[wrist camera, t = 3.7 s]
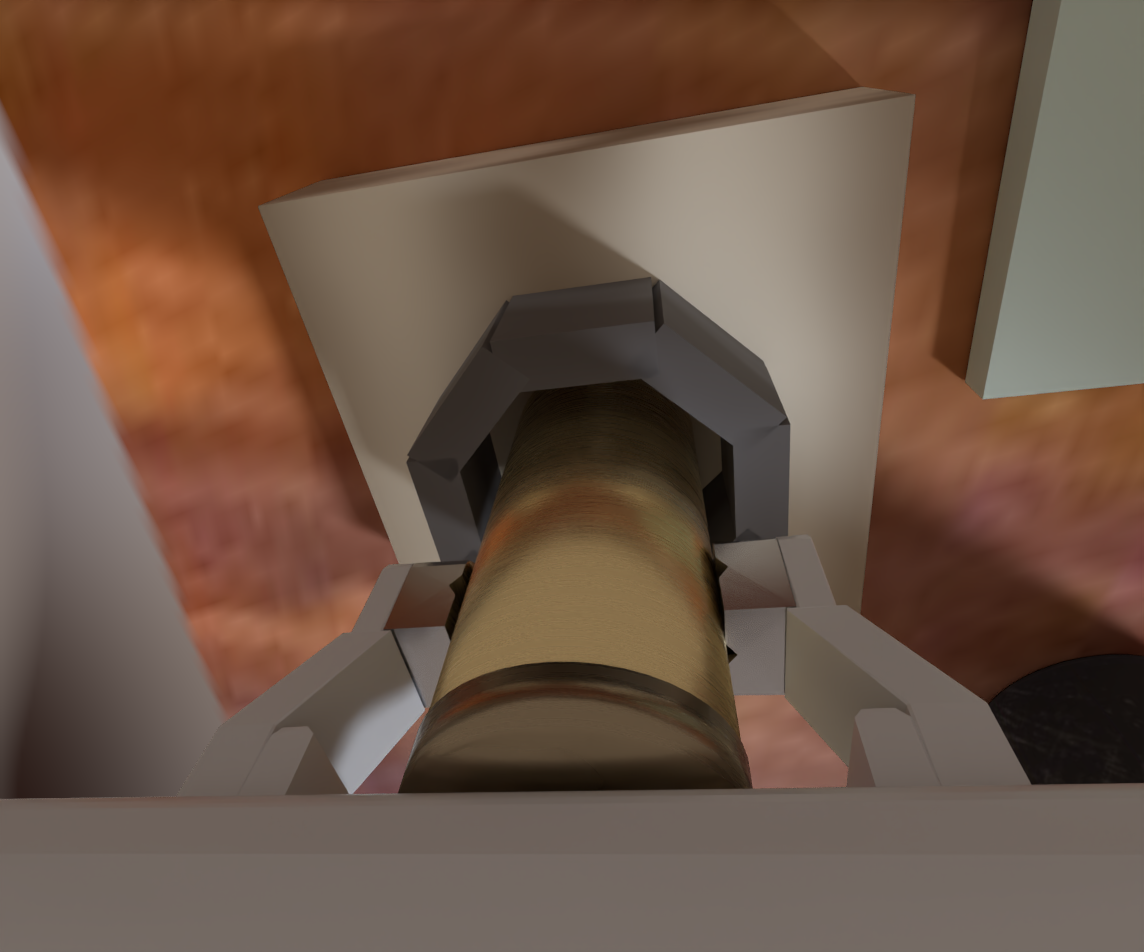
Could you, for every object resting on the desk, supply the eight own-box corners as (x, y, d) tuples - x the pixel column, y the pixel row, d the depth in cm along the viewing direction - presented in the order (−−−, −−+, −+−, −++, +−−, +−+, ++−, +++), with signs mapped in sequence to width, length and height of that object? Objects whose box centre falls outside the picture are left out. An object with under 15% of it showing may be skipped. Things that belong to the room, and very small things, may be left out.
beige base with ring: (862, 86, 13) (983, 104, 9) (831, 543, 20) (891, 692, 15) (320, 180, 15) (182, 235, 10) (452, 570, 21) (403, 710, 17)
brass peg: (689, 347, 13) (759, 721, 6) (700, 506, 16) (760, 928, 8) (498, 369, 14) (342, 733, 7) (534, 520, 16) (448, 923, 9)
